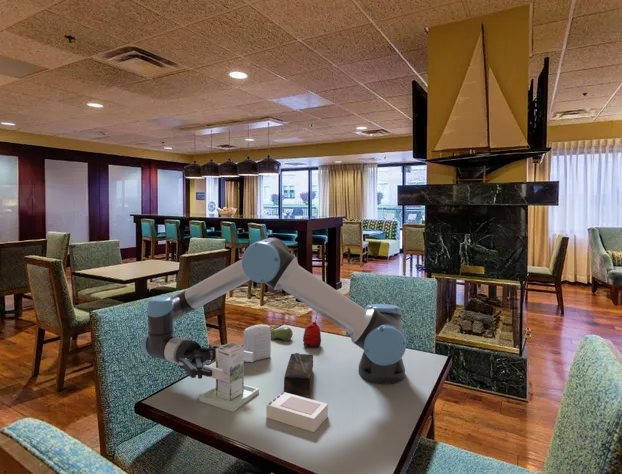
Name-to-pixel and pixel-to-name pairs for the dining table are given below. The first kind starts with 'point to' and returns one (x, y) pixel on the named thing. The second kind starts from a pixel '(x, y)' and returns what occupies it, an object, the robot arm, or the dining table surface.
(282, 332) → the pear
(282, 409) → the pink-topped slotted block
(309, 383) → the beverage carton
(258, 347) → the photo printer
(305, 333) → the red clay folk toy
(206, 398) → the tray
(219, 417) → the dining table surface
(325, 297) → the robot arm
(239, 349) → the syrup box
